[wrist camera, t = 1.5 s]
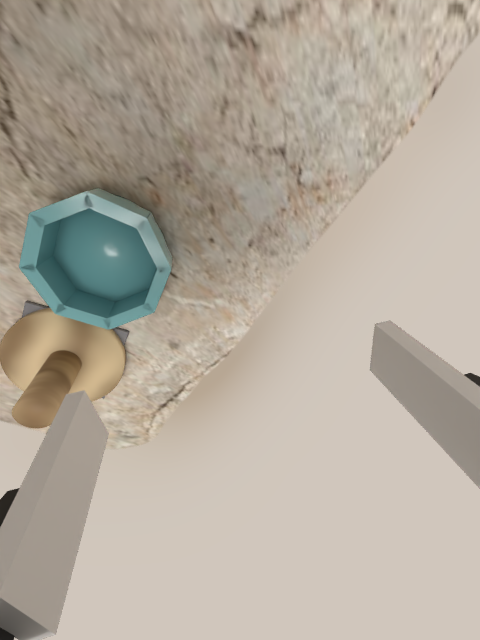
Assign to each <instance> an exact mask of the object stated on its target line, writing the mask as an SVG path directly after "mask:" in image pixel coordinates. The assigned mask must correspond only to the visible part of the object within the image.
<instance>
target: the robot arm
mask: <svg viewBox="0 0 480 640" xmlns="http://www.w3.org/2000/svg"><path fill="white" fill-rule="evenodd" d="M370 371H371V372H372V373H373V374H374V375H375V376H376V377H377V378H378V379H379V380H380V381H381V382H382V384H383V385H384V386H385V387H386V388H387V389H388V390H389V391H390V392H391V393H392V394H393V395H394V397H395V398H396V399H397V400H398V401H399V402H400V403H401V404H402V405H403V406H404V407H405V408H406V409H407V411H408V412H409V413H410V414H411V415H412V416H413V417H414V418H415V419H416V420H417V421H418V423H419V424H420V425H421V426H422V427H423V428H424V429H425V430H426V431H427V432H428V433H429V434H430V435H431V437H433V439H434V440H435V441H436V442H437V443H438V444H439V445H440V446H441V447H442V448H443V449H444V450H445V452H446V453H447V454H448V455H449V456H450V457H451V458H452V459H453V460H454V461H455V462H456V463H457V465H458V466H459V467H460V468H461V469H462V470H463V471H464V472H465V473H466V474H467V475H468V476H469V478H470V479H471V480H472V481H473V482H474V483H475V484H476V485H477V486H478V487H479V488H480V377H479V376H477V375H474V374H472V373H468V374H465V375H463V374H462V373H460V372H459V371H458V370H456V369H455V368H454V367H452V366H451V365H450V364H448V363H447V362H445V361H444V360H442V358H440V357H439V356H437V355H436V354H435V353H433V352H432V351H431V350H429V349H428V348H427V347H425V346H424V345H423V344H421V343H420V342H419V341H417V340H416V339H414V338H413V337H412V336H410V335H409V334H408V333H406V332H405V331H404V330H402V329H401V328H400V327H398V326H397V325H396V324H394V323H393V322H391V321H386V322H381V323H377V324H375V327H374V336H373V346H372V355H371V363H370ZM108 435H109V433H108V431H107V429H106V427H105V426H104V424H103V422H102V420H101V418H100V417H99V415H98V413H97V411H96V409H95V408H94V406H93V404H92V402H91V400H90V399H89V397H88V395H87V393H86V392H85V390H83V391H79V392H75V393H70V394H66V396H65V398H64V400H63V402H62V404H61V406H60V408H59V410H58V412H57V414H56V416H55V418H54V420H53V422H52V424H51V426H50V428H49V430H48V432H47V434H46V436H45V438H44V440H43V442H42V444H41V446H40V448H39V450H38V452H37V454H36V456H35V458H34V460H33V462H32V464H31V466H30V469H29V470H28V472H27V475H26V476H25V478H24V480H23V483H22V485H21V487H20V488H18V489H14V490H10V491H7V493H6V494H5V495H4V496H3V497H2V498H1V499H0V640H14V637H15V638H17V639H18V640H40V639H44V638H47V637H50V636H54V635H56V632H57V628H58V624H59V620H60V616H61V613H62V609H63V605H64V602H65V598H66V594H67V590H68V586H69V582H70V579H71V575H72V571H73V567H74V564H75V560H76V556H77V552H78V548H79V545H80V541H81V537H82V533H83V529H84V526H85V522H86V518H87V514H88V510H89V507H90V503H91V499H92V495H93V491H94V488H95V484H96V480H97V476H98V473H99V469H100V464H101V461H102V457H103V453H104V450H105V446H106V442H107V438H108Z"/></svg>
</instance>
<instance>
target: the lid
mask: <svg viewBox="0 0 480 640" xmlns="http://www.w3.org/2000/svg"><path fill="white" fill-rule="evenodd" d="M0 362H1V366H2V368H3V370H4V372H5V373H6V375H7V376H8V378H9V379H10V380H11V381H12V382H13V383H14V384H15V385H16V386H17V387H18V388H20V389H21V390H23V391H24V393H23V394H22V396H21V397H20V399H19V400H18V401H17V403H16V404H15V406H14V407H13V409H12V416H13V418H14V419H15V420H16V421H17V422H18V423H19V424H21V425H23V426H26V427H30V428H43V427H47V426H49V425H51V424H52V422H53V420H54V418H55V416H56V414H57V412H58V410H59V408H60V406H61V404H62V402H63V400H64V398H65V396H66V394H70V393H75V392H79V391H83V390H85V392H86V393H87V395H88V397H89V399H90V400H91V402H92V401H95V400H97V399H99V398H102V397H103V396H105V395H107V394H108V393H109V392H111V391H112V390H113V389H114V388H115V387H116V386H117V384H118V383H119V381H120V379H121V377H122V374H123V370H124V367H125V362H126V353H125V349H124V346H123V343H122V341H121V339H120V338H119V336H118V335H117V334H116V332H115V331H114V330H113V329H110V330H108V329H104V328H101V327H98V326H94V325H91V324H87V323H84V322H80V321H77V320H74V319H70V318H67V317H63V316H60V315H56V314H55V313H54V312H53V311H52V309H51V308H47V309H41V310H38V311H35V312H32V313H30V314H28V315H26V316H24V317H23V318H21V319H20V320H19V321H18V322H17V323H15V324H14V325H13V326H12V327H11V328H10V329H9V330H8V331H7V333H6V334H5V335H4V337H3V339H2V341H1V344H0Z"/></svg>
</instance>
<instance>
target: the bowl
mask: <svg viewBox="0 0 480 640" xmlns="http://www.w3.org/2000/svg"><path fill="white" fill-rule="evenodd" d="M19 267H20V270H21V271H22V272H23V273H24V275H25V276H26V277H27V279H28V280H29V281H30V282H31V284H32V285H33V286H34V288H35V289H36V290H37V291H38V293H39V294H40V295H41V297H42V298H43V299H44V300H45V302H46V303H47V304H48V306H49V307H50V308H51V309H52V311H53V312H54V313H55V314H56V315H60V316H63V317H67V318H70V319H74V320H77V321H80V322H84V323H87V324H91V325H94V326H98V327H101V328H104V329H108V330H110V329H112V328H115V327H118V326H120V325H123V324H125V323H128V322H131V321H133V320H136V319H138V318H141V317H144V316H146V315H149V314H151V313H154V312H155V309H156V307H157V304H158V302H159V299H160V297H161V294H162V292H163V289H164V287H165V284H166V282H167V279H168V277H169V274H170V272H171V268H172V256H171V253H170V251H169V249H168V247H167V245H166V241H165V238H164V236H163V233H162V231H161V230H160V228H159V226H158V225H157V223H156V221H155V219H154V217H153V215H152V213H150V211H148V210H146V209H144V208H141V207H140V206H138V205H137V204H135V203H133V202H131V201H130V200H128V199H125V198H123V197H120V196H117V195H113V194H111V193H108V192H106V191H104V190H102V189H100V188H96V189H93V190H89V191H85V192H83V193H80V194H77V195H75V196H72V197H70V198H67V199H64V200H62V201H59V202H57V203H54V204H52V205H49V206H46V207H44V208H41V209H39V210H36V211H33V212H31V213H29V216H28V222H27V227H26V232H25V238H24V243H23V249H22V254H21V259H20V265H19Z"/></svg>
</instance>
